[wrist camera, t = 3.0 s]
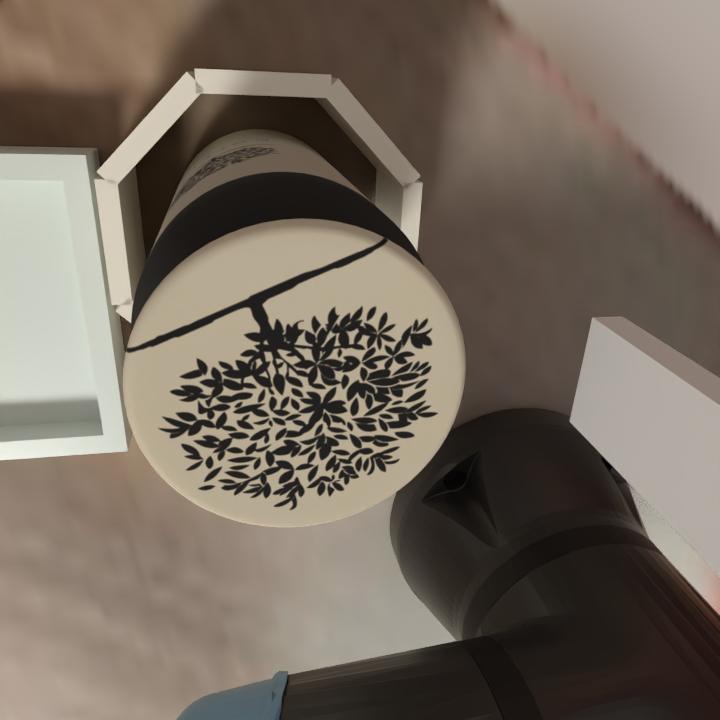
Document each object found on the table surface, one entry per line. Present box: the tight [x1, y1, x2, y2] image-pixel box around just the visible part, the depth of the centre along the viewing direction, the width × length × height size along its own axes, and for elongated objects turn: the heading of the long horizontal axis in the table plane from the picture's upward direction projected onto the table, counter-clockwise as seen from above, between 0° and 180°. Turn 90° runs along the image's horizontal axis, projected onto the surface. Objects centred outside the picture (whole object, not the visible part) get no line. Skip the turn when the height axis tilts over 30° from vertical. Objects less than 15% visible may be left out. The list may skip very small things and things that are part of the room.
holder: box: [94, 68, 423, 323], centre depth 27 cm, size 13×13×5 cm
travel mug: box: [123, 129, 466, 527], centre depth 21 cm, size 8×8×18 cm
